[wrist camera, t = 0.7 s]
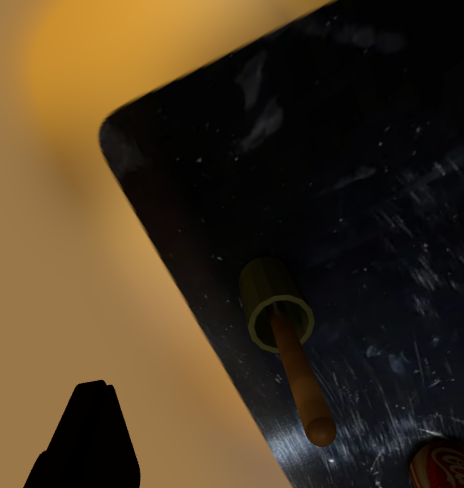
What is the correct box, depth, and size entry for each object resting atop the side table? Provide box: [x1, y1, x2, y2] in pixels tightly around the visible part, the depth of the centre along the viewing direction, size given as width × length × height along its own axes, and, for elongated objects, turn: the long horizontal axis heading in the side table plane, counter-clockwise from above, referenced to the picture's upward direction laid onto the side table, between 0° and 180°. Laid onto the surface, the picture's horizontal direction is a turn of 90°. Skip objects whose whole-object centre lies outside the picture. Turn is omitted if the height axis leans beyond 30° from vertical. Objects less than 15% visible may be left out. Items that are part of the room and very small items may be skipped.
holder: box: [239, 256, 315, 353], centre depth 29 cm, size 4×4×7 cm
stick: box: [265, 301, 337, 447], centre depth 24 cm, size 1×1×16 cm
